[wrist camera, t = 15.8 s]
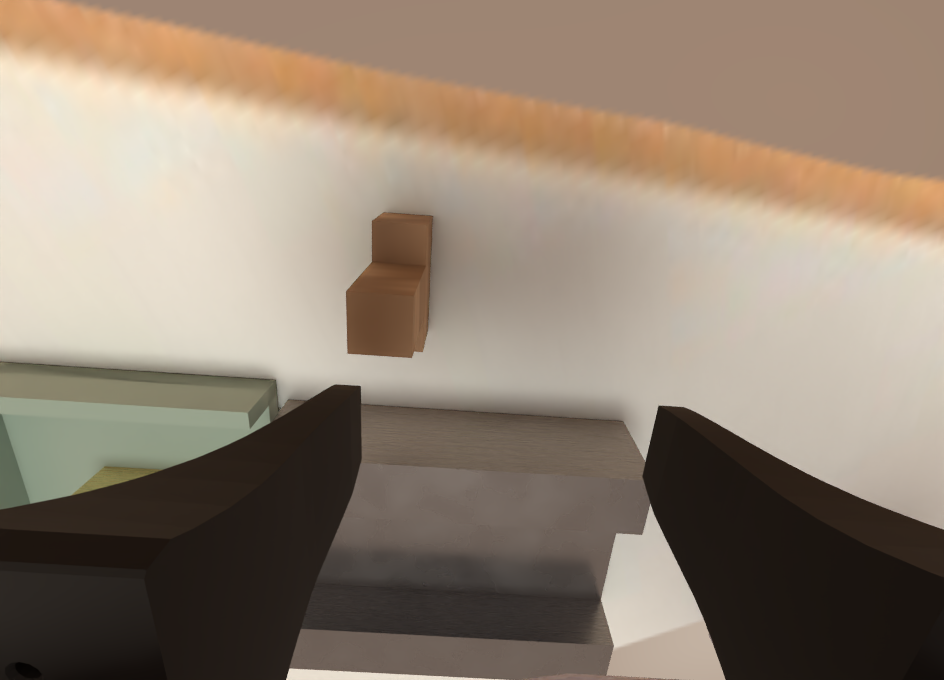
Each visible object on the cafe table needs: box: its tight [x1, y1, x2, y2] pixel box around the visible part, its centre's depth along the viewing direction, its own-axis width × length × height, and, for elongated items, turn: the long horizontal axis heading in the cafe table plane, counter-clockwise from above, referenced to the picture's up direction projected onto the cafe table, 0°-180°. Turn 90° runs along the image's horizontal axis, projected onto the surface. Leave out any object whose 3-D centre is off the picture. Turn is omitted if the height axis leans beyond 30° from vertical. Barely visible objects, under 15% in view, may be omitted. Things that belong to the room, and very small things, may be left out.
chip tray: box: [0, 362, 279, 509], centre depth 24 cm, size 13×14×3 cm
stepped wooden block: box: [346, 213, 433, 358], centre depth 18 cm, size 2×5×6 cm, turn 176°
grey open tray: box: [272, 400, 650, 680], centre depth 23 cm, size 16×12×4 cm
